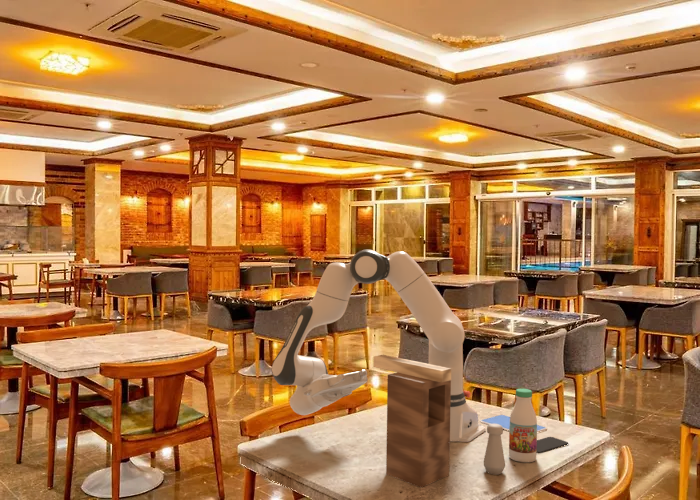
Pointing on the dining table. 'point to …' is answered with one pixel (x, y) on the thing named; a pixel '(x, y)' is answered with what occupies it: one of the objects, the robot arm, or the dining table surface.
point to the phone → (549, 444)
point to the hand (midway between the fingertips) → (354, 374)
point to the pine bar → (413, 368)
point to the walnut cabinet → (418, 429)
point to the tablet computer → (505, 422)
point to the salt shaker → (494, 450)
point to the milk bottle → (523, 428)
